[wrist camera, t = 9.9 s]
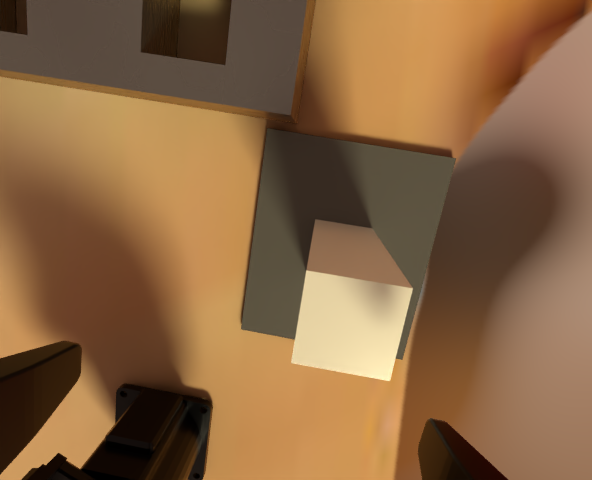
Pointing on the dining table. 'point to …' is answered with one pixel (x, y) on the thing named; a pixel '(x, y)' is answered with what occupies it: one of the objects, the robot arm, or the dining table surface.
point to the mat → (337, 217)
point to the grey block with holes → (163, 53)
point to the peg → (351, 303)
